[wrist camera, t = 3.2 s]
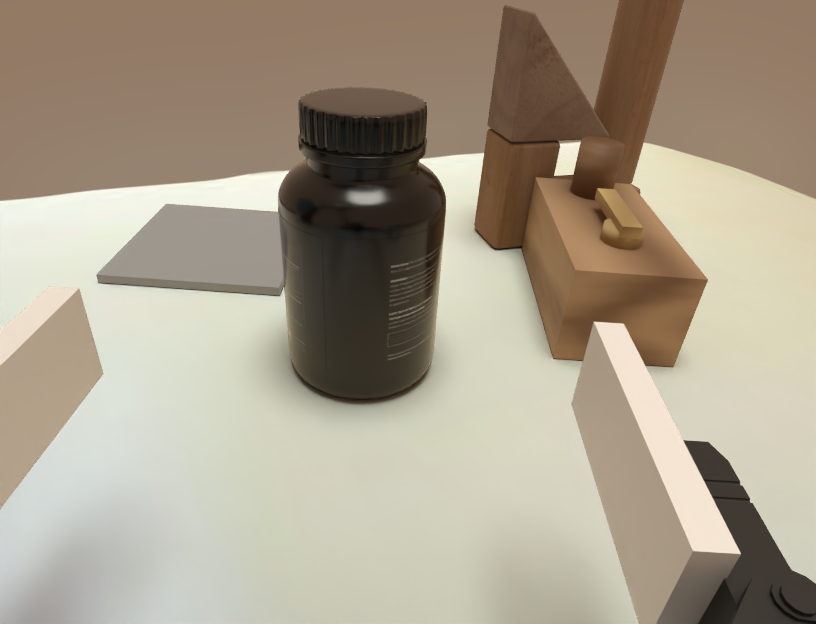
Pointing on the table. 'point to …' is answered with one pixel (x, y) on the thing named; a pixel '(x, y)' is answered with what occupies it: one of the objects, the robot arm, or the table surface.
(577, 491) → the table surface
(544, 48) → the wooden block
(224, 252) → the felt pad
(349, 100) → the supplement bottle
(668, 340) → the plane block
